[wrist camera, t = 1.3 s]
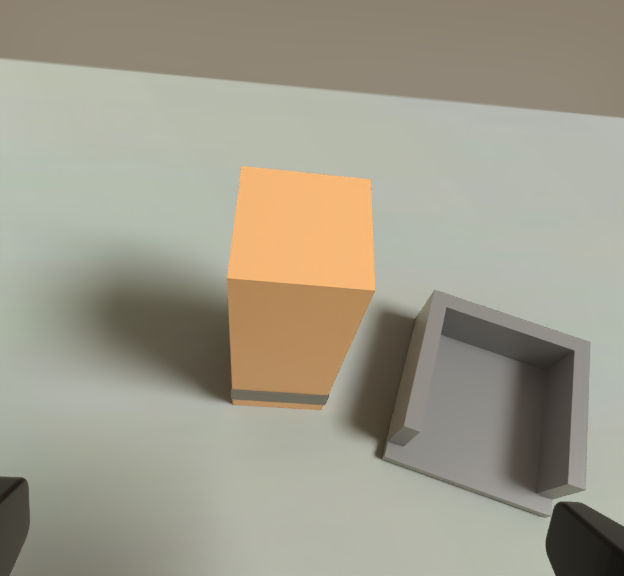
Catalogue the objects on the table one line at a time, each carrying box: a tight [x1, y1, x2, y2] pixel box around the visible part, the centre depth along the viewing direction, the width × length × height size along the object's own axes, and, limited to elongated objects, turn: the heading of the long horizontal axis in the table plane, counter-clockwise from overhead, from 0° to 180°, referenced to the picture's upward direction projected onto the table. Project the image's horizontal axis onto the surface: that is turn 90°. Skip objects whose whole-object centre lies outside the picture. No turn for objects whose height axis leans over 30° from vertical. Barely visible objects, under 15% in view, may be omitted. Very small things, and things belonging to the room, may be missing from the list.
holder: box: [382, 290, 590, 517], centre depth 23 cm, size 7×7×3 cm
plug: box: [227, 166, 375, 410], centre depth 20 cm, size 4×4×11 cm
